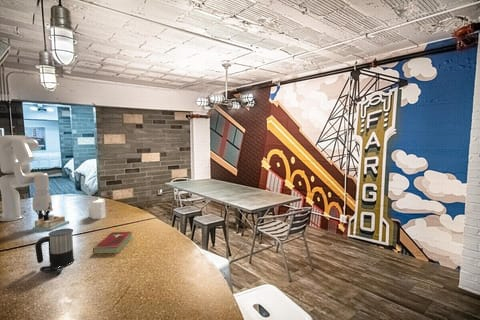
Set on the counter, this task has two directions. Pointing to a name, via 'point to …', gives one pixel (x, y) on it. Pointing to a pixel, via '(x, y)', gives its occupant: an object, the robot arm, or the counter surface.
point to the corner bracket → (97, 209)
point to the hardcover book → (113, 242)
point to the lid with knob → (51, 227)
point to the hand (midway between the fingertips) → (43, 219)
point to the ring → (50, 222)
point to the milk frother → (56, 250)
